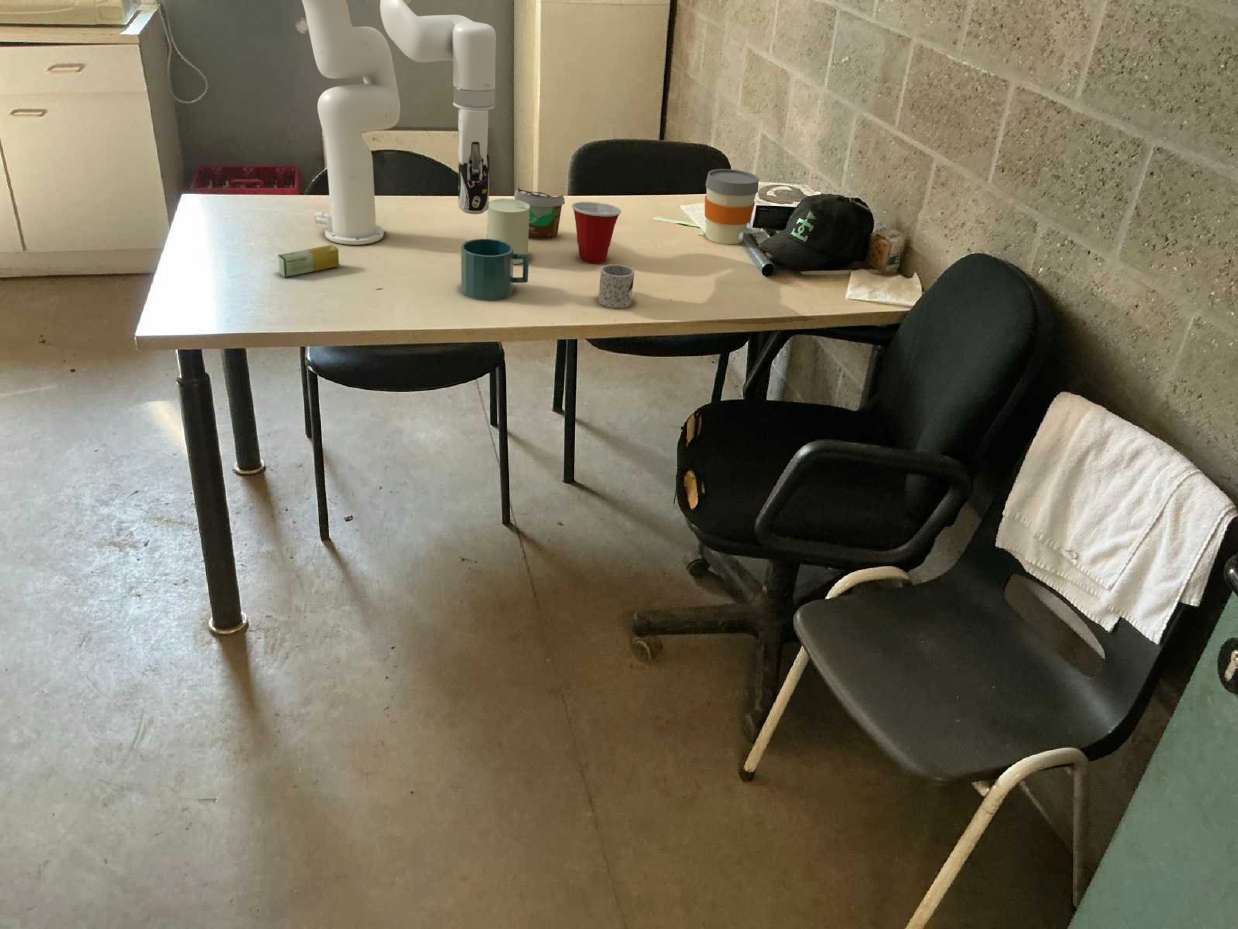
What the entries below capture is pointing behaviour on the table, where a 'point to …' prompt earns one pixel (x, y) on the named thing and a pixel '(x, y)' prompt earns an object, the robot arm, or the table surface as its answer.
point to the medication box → (308, 260)
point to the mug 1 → (489, 269)
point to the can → (509, 224)
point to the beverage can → (473, 189)
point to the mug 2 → (616, 286)
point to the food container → (542, 213)
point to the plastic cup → (594, 229)
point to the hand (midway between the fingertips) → (473, 197)
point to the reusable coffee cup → (729, 204)
